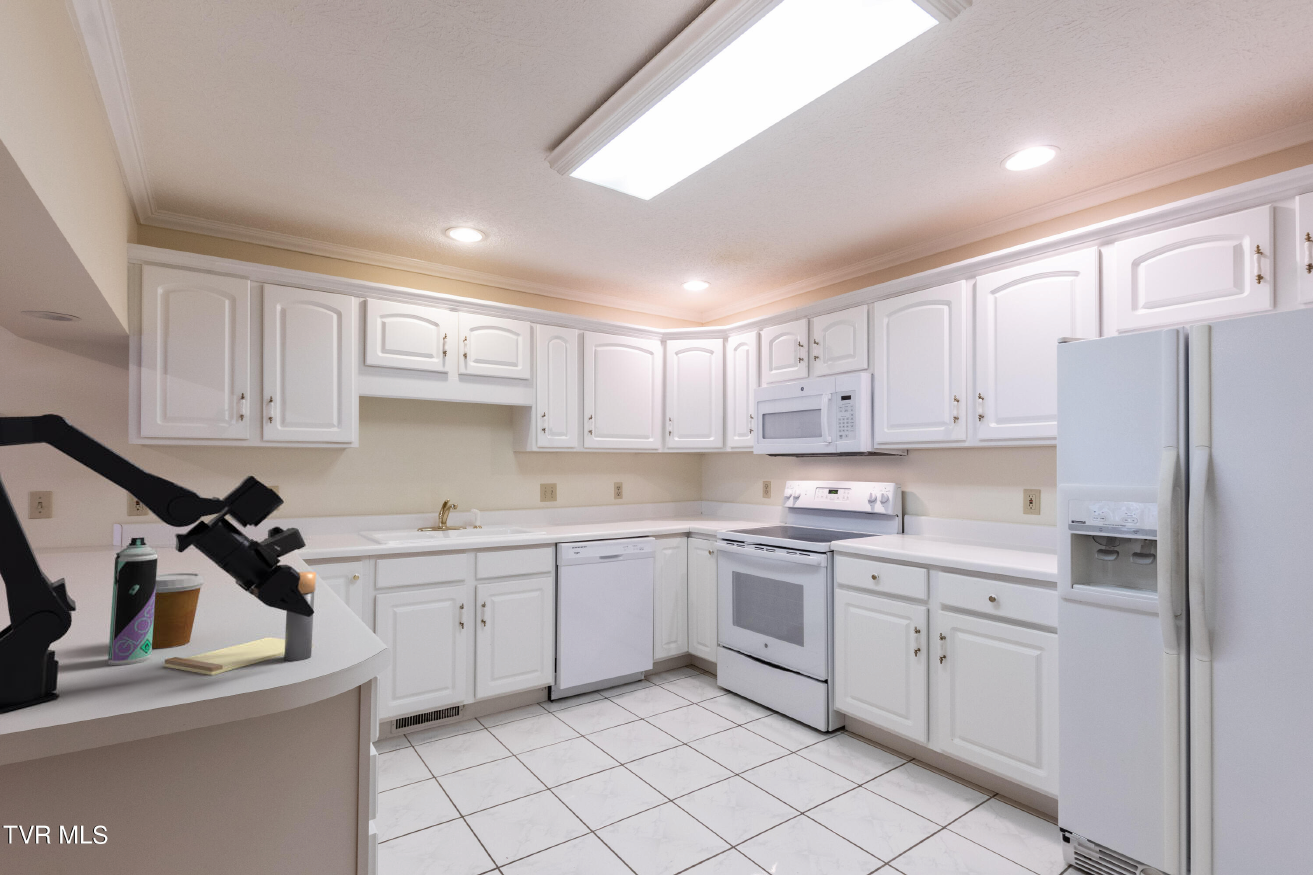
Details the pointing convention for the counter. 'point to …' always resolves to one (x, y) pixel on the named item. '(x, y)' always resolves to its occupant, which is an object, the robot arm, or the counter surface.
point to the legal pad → (230, 657)
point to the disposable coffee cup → (175, 608)
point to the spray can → (133, 604)
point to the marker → (300, 623)
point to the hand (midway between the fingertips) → (304, 609)
